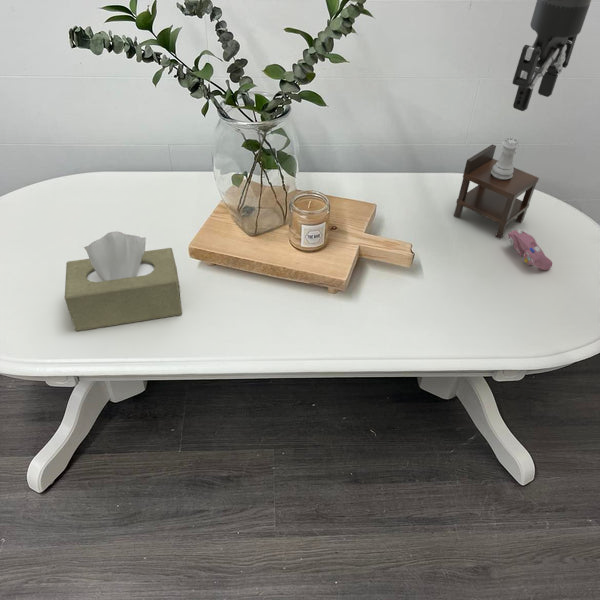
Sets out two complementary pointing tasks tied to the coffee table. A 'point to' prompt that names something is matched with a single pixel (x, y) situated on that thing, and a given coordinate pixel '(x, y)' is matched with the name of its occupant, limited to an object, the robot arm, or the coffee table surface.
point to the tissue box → (121, 283)
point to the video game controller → (529, 249)
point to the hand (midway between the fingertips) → (532, 101)
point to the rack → (494, 191)
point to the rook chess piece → (505, 160)
